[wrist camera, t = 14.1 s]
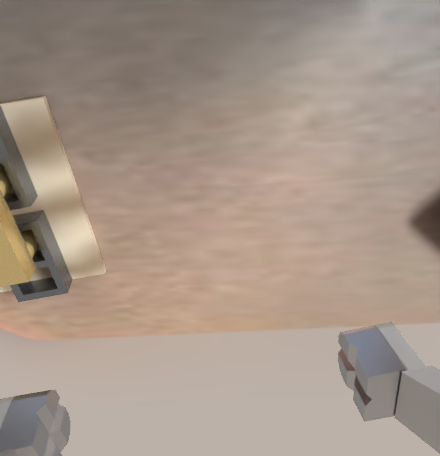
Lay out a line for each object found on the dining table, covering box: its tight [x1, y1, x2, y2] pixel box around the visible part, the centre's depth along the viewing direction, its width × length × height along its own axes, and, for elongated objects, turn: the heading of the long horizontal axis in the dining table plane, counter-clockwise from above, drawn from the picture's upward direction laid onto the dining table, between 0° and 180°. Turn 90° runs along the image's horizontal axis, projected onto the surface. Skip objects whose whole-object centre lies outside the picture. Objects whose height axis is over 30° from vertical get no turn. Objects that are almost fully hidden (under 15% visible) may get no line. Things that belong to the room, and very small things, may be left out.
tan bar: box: [0, 165, 39, 287], centre depth 36 cm, size 10×3×6 cm, turn 8°
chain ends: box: [0, 105, 72, 302], centre depth 38 cm, size 20×5×2 cm, turn 8°
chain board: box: [0, 96, 106, 293], centre depth 40 cm, size 20×13×1 cm, turn 8°
